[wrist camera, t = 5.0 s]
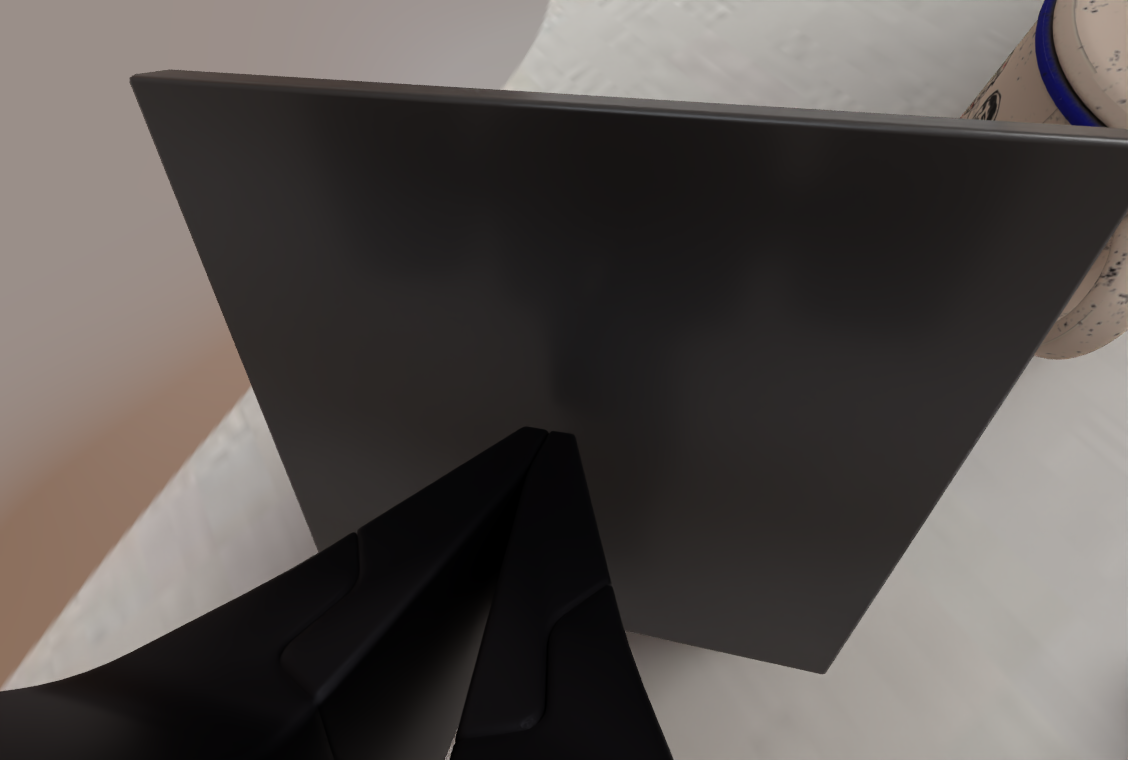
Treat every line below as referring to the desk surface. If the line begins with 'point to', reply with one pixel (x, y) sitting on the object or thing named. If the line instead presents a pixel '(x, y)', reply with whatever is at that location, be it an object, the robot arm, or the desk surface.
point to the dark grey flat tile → (639, 313)
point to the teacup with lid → (1082, 98)
